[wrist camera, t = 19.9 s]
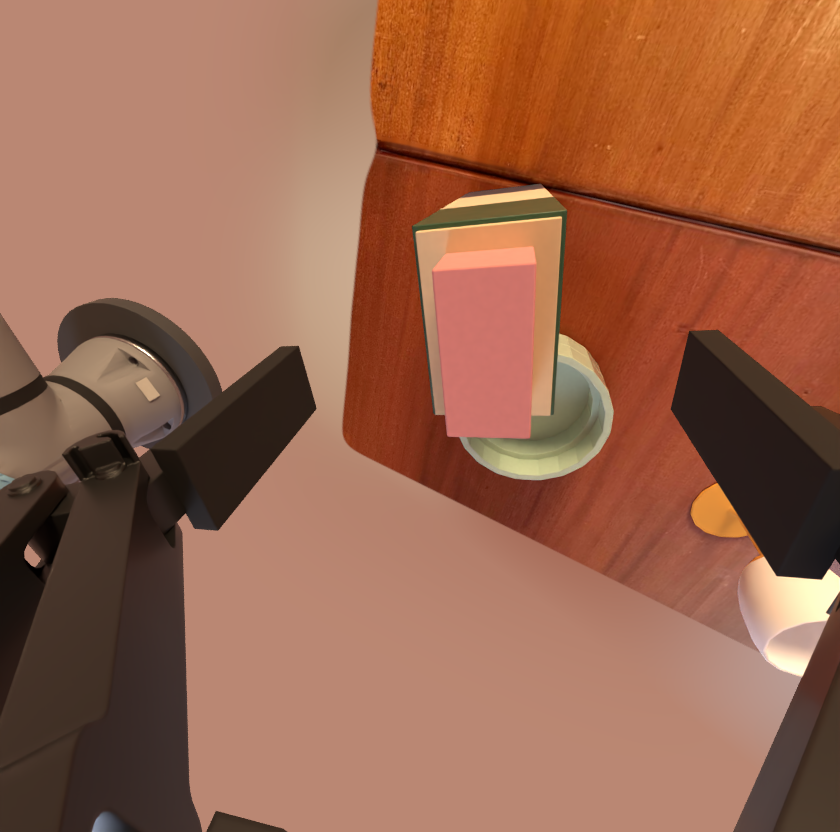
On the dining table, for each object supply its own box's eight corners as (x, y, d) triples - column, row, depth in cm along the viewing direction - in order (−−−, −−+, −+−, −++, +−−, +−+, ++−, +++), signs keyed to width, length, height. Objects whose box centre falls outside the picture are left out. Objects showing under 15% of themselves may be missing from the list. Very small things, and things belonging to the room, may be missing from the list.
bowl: (466, 444, 49) (459, 477, 44) (458, 330, 41) (449, 353, 36) (593, 448, 45) (602, 483, 40) (609, 324, 38) (623, 348, 33)
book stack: (473, 297, 39) (433, 414, 21) (468, 192, 35) (411, 225, 16) (537, 293, 38) (554, 415, 20) (540, 183, 33) (567, 209, 15)
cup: (671, 514, 48) (730, 650, 35) (734, 464, 43) (832, 600, 29) (737, 546, 48) (819, 692, 35) (807, 500, 43) (935, 650, 30)
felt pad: (436, 411, 21) (435, 415, 20) (417, 230, 16) (415, 232, 16) (549, 411, 20) (550, 416, 19) (561, 216, 15) (562, 217, 15)
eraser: (444, 253, 16) (431, 269, 14) (534, 246, 15) (536, 261, 13) (455, 403, 20) (446, 437, 17) (529, 403, 19) (530, 439, 17)
